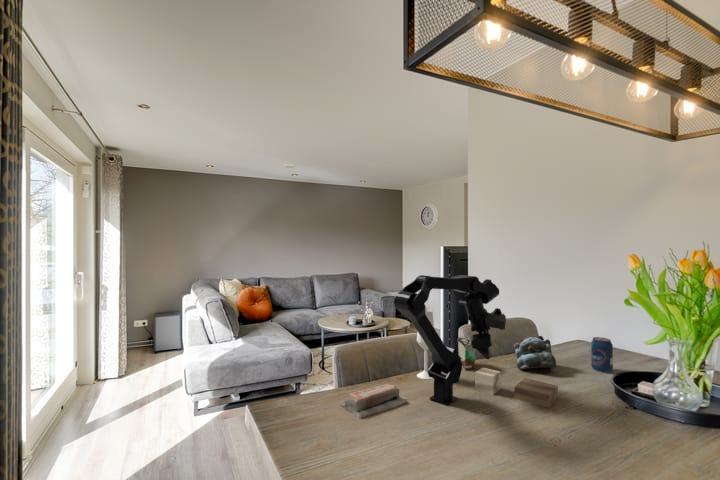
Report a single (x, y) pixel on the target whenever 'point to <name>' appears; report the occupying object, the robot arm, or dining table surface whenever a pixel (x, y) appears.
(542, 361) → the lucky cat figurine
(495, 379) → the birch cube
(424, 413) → the dining table surface
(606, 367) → the soda can
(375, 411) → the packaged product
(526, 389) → the walnut block
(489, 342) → the robot arm
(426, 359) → the champagne flute
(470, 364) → the food container
